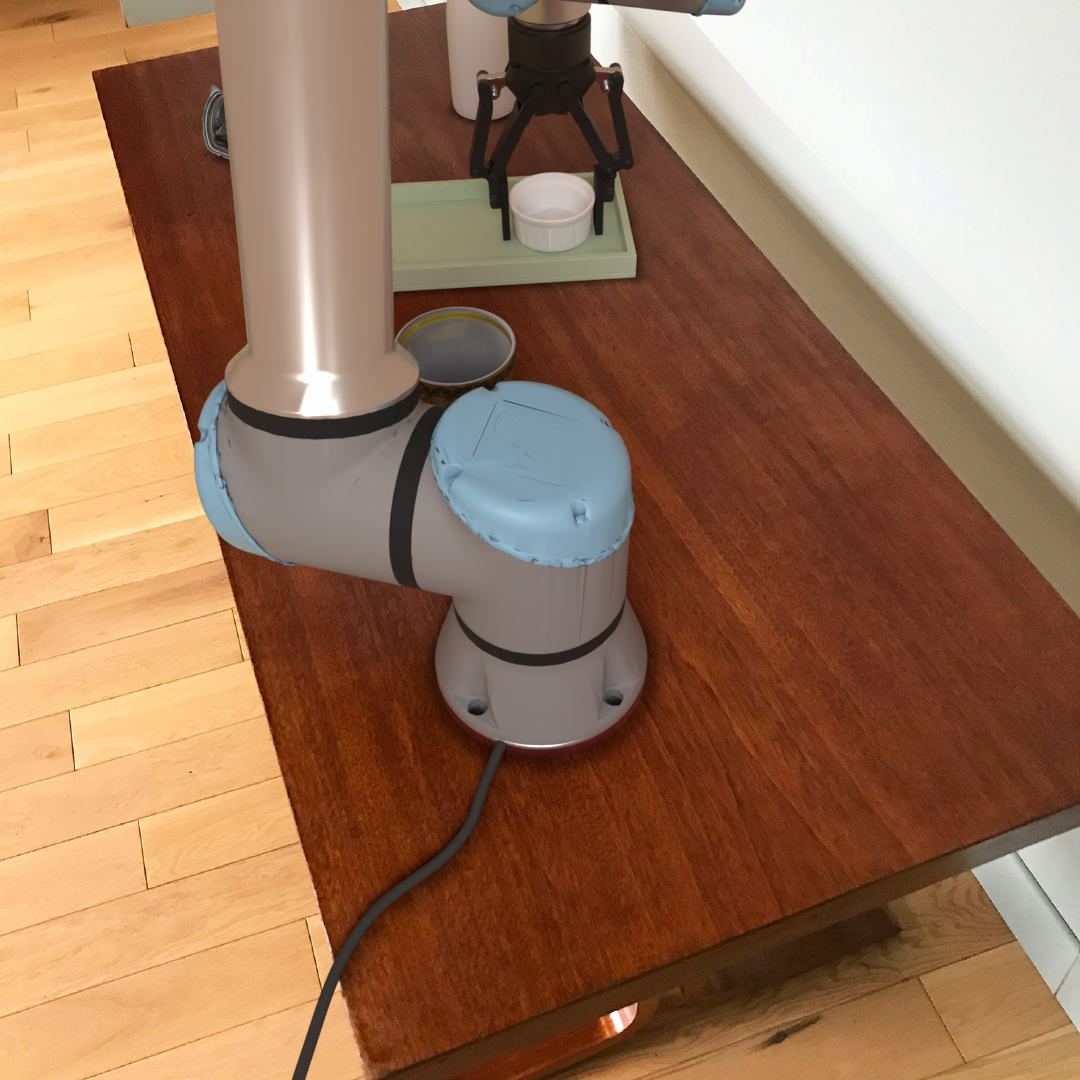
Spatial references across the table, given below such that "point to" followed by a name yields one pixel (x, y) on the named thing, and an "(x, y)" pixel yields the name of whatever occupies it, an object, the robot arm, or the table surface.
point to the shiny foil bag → (215, 124)
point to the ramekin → (552, 211)
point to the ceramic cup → (459, 352)
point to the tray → (493, 240)
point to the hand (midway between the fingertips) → (552, 230)
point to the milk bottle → (476, 56)
